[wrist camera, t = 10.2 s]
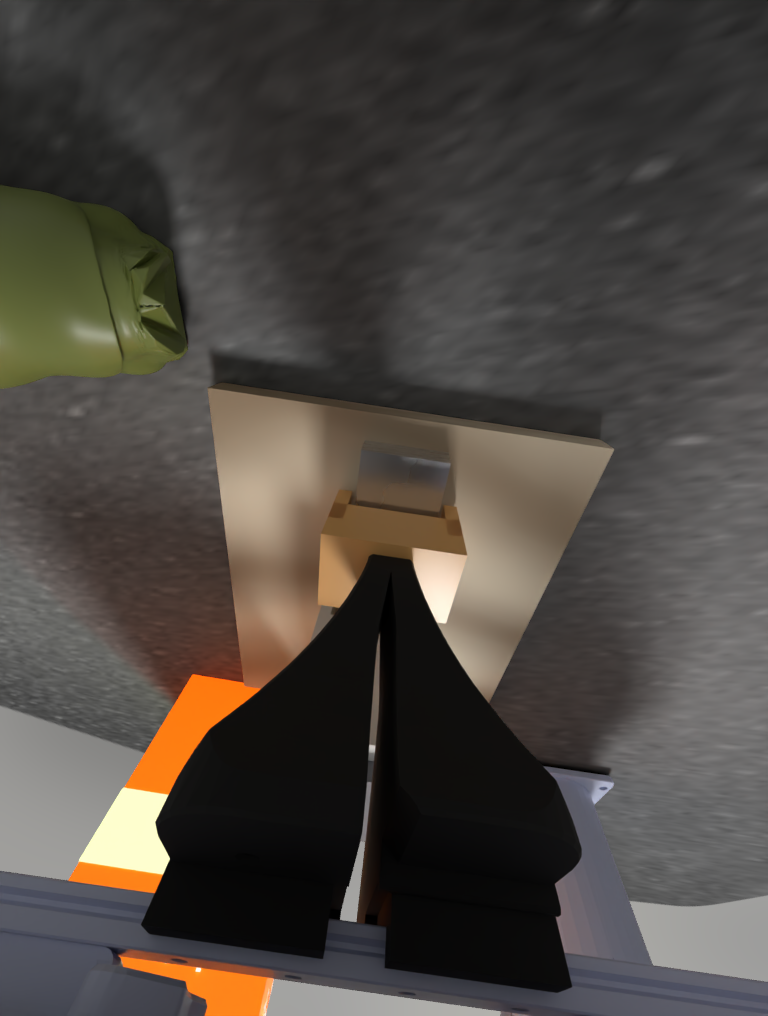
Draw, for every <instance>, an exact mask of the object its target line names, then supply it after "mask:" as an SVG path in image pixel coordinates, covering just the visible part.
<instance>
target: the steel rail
mask: <svg viewBox="0 0 768 1016" xmlns="http://www.w3.org/2000/svg"><path fill="white" fill-rule="evenodd" d="M450 466H451V461H450V457H449V453H448V452H441V451H434V450H428V449H421V448H415V447H408V446H401V445H395V444H388V443H381V442H375V441H368V440H365V441H364V443H363V446H362V449H361V456H360V466H359V476H358V485H357V495H356V505H357V506H364V507H370V508H377V509H384V510H390V511H397V512H404V513H410V514H417V515H424V516H430V517H437V518H438V515H439V511H440V507H441V502H442V498H443V494H444V490H445V486H446V482H447V478H448V474H449V470H450Z"/></svg>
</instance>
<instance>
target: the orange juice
mask: <svg viewBox="0 0 768 1016" xmlns="http://www.w3.org/2000/svg"><path fill="white" fill-rule="evenodd" d="M259 690H260V689H259V688H252V687H246V686H244V683H241V682H235V681H230V680H224V679H218V678H212V677H206V676H200V675H194V674H193V675H192V676H191V678H190V680H189V681H188V683H187V684H186V686H185V688H184V689H183V691H182V693H181V694H180V696H179V698H178V699H177V701H176V703H175V704H174V706H173V708H172V709H171V711H170V713H169V714H168V716H167V718H166V719H165V721H164V723H163V724H162V726H161V728H160V729H159V731H158V733H157V734H156V736H155V737H154V739H153V741H152V742H151V744H150V746H149V747H148V749H147V751H146V752H145V754H144V756H143V757H142V759H141V761H140V762H139V764H138V766H137V768H136V769H135V771H134V772H133V774H132V776H131V777H130V779H129V781H128V782H127V784H126V786H125V787H124V788H122V790H121V792H120V793H119V795H118V797H117V798H116V800H115V802H114V803H113V805H112V806H111V808H110V810H109V811H108V813H107V815H106V816H105V818H104V820H103V822H102V823H101V825H100V827H99V828H98V830H97V831H96V833H95V834H94V836H93V838H92V839H91V841H90V843H89V844H88V846H87V848H86V849H85V851H84V853H83V854H82V856H81V858H80V859H79V863H78V865H77V867H76V868H75V870H74V872H73V873H72V875H71V877H70V878H69V880H68V881H74V882H80V883H87V884H94V885H101V886H108V887H115V888H122V889H129V890H136V891H143V892H149V893H155V891H156V889H157V887H158V885H159V882H160V880H161V878H162V875H163V873H164V871H165V869H166V866H167V864H168V862H169V860H170V858H169V856H168V854H167V852H166V850H165V848H164V846H163V844H162V842H161V841H160V839H159V837H158V834H157V829H156V824H155V821H156V819H157V817H158V815H159V813H160V811H161V809H162V807H163V805H164V803H165V801H166V799H167V797H168V795H169V793H170V791H171V789H172V787H173V785H174V783H175V781H176V779H177V777H178V775H179V773H180V772H181V770H182V769H183V767H184V765H185V764H186V762H187V760H188V759H189V757H190V756H191V754H192V753H193V751H194V750H195V748H196V747H197V745H198V744H199V743H200V741H201V740H202V738H203V737H204V736H205V734H206V733H207V732H208V730H209V729H210V728H211V727H213V726H214V725H215V724H217V723H218V722H219V721H220V720H222V719H223V718H224V717H226V716H227V715H228V714H230V713H231V712H232V711H234V710H235V709H236V708H238V707H239V706H240V705H242V704H243V703H244V702H245V701H247V700H248V699H249V698H251V697H252V696H253V695H254V694H255V693H257V692H258V691H259ZM119 957H120V956H119ZM120 958H121V960H122V963H123V967H127V968H131V969H136V970H140V971H144V972H149V973H153V974H157V975H161V976H166V977H170V978H174V979H178V980H183V981H186V985H187V989H188V991H189V992H190V993H192V994H195V995H197V996H199V997H201V998H204V999H206V1003H207V1010H206V1013H205V1016H266V1011H267V1007H268V1002H269V997H270V992H271V987H272V983H273V978H266V977H259V976H252V975H245V974H238V973H232V972H225V971H218V970H211V969H204V968H197V967H190V966H183V965H176V964H169V963H162V962H155V961H148V960H141V959H134V958H127V957H120Z"/></svg>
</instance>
